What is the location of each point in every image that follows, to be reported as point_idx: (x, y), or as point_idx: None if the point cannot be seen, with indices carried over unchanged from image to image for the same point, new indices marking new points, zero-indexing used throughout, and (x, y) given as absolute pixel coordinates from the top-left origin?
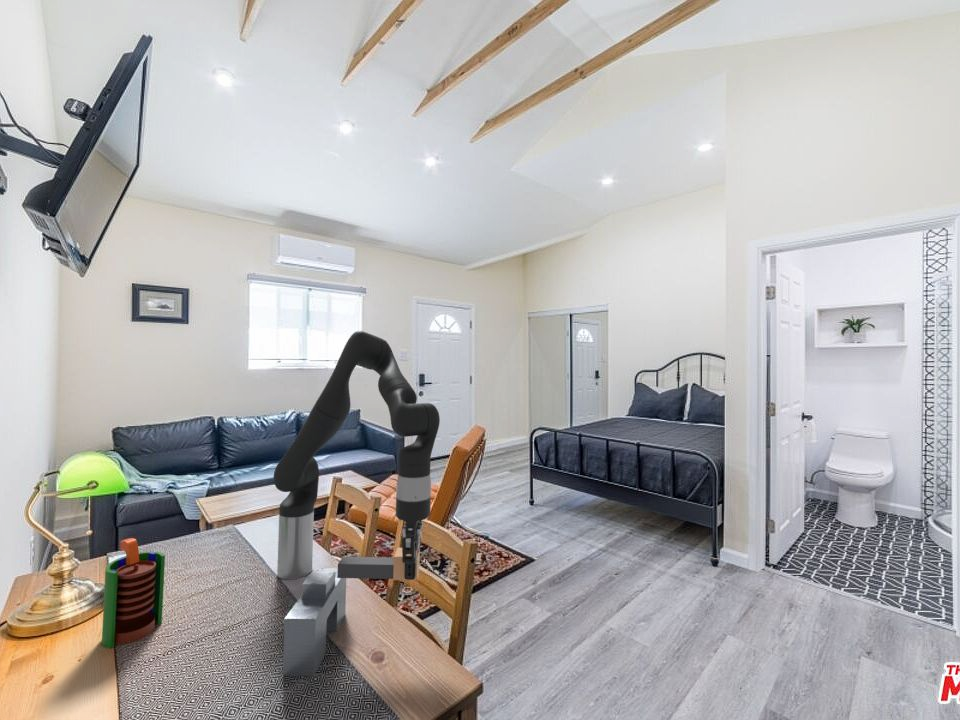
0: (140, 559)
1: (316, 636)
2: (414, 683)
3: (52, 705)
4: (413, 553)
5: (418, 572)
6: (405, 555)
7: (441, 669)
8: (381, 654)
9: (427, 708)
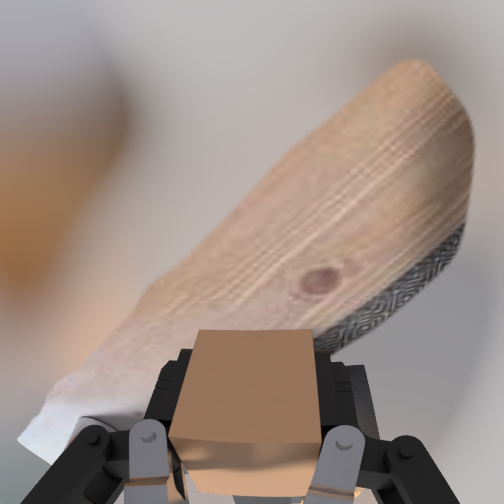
0: None
1: (367, 417)
2: (408, 188)
3: (357, 489)
4: (454, 496)
5: (231, 333)
6: (388, 497)
7: (367, 126)
8: (312, 276)
9: (469, 156)
